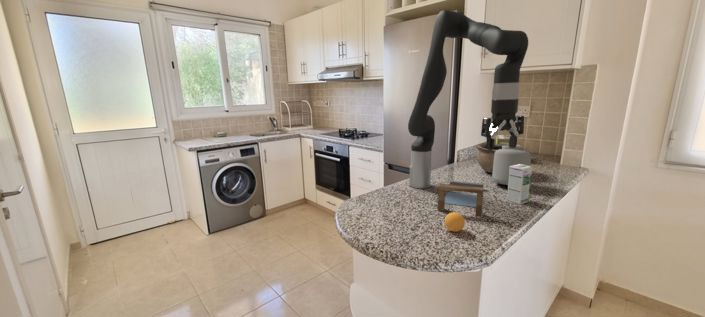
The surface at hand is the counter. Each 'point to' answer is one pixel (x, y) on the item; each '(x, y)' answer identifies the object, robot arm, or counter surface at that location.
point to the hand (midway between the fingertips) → (501, 148)
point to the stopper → (466, 184)
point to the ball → (454, 222)
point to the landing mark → (461, 199)
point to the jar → (508, 162)
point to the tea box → (502, 139)
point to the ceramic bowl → (488, 155)
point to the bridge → (463, 189)
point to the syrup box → (519, 183)
